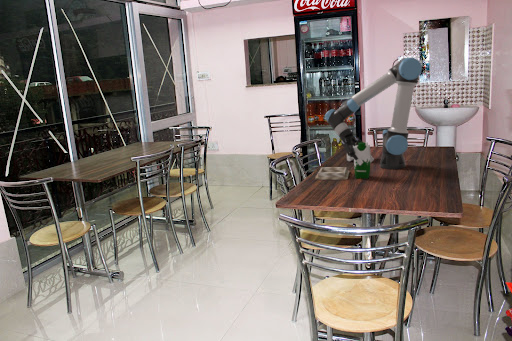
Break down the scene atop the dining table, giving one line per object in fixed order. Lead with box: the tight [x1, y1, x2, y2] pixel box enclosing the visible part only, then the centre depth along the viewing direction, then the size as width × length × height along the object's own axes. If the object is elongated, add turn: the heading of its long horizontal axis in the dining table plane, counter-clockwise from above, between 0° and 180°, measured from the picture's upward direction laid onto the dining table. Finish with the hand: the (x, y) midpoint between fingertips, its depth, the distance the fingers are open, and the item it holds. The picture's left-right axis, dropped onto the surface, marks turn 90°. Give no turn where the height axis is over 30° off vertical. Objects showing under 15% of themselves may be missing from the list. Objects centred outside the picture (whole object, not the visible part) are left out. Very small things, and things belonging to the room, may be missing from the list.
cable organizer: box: [346, 141, 369, 162], centre depth 290 cm, size 15×11×12 cm
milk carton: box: [353, 141, 372, 180], centre depth 242 cm, size 9×9×20 cm
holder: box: [314, 166, 350, 181], centre depth 252 cm, size 18×18×4 cm
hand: (367, 162), depth 240 cm, fingers closed on milk carton, 9 cm apart
